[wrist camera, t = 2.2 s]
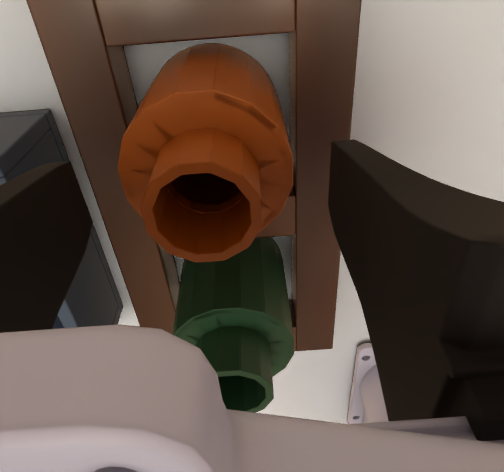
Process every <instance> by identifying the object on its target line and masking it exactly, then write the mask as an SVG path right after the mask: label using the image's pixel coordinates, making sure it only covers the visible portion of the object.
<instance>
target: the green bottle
mask: <svg viewBox="0 0 504 472" xmlns="http://www.w3.org/2000/svg"><path fill="white" fill-rule="evenodd" d="M172 335H174V336H176V337H178V338H180V339H182V340H185V341H187V342H189V343H191V344H193V345H195V346H196V347H198V348H199V349H201V351H202V352H203V354H204V355H205V357H206V358H207V360H208V361H209V363H210V364H211V366H212V367H213V368H214V370H215V371H216V373H217V375H218V380H219V385H220V390H221V395H222V400H223V402H224V405H225V407H226V409H229V410H237V411H245V412H253V413H255V412H258V411H261V410H263V409H264V408H265V407H266V406H267V405H268V404H269V403H270V402H271V401H272V400H273V398H274V396H273V381H272V377H273V376H274V375H275V374H277V373H278V372H280V371H281V370H283V369H284V368H285V367H286V366H287V364H288V363H289V361H290V359H291V358H292V356H293V355H294V335H293V328H292V321H291V314H290V307H289V300H288V293H287V286H286V279H285V273H284V266H283V259H282V256H281V252H280V250H279V247H278V246H277V244H276V243H275V241H274V240H273V239H272V238H271V237H259V238H254V240H253V242H252V243H251V245H250V246H249V247H248V248H247V249H245V250H243V251H241V252H239V253H238V254H236V255H234V256H232V257H230V258H228V259H227V260H224V261H211V262H192V261H189V260H187V259H185V260H184V263H183V268H182V275H181V281H180V287H179V294H178V300H177V306H176V313H175V319H174V325H173V332H172Z"/></svg>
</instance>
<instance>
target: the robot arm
mask: <svg viewBox="0 0 504 472" xmlns="http://www.w3.org/2000/svg"><path fill="white" fill-rule="evenodd" d="M328 208H329V212H330V217H331V222H332V226H333V230H334V234H335V236H336V239H337V242H338V244H339V247H340V249H341V252H342V255H343V257H344V260H345V262H346V265H347V267H348V270H349V272H350V275H351V278H352V280H353V283H354V285H355V288H356V290H357V293H358V296H359V299H360V302H361V305H362V309H363V313H364V317H365V321H366V324H367V328H368V332H369V336H370V340H371V343H364V344H361V345H360V346H359V347H358V349H357V354H356V361H355V369H354V376H353V383H352V390H351V397H350V404H349V411H348V418H347V423H348V424H341V423H333V422H325V421H317V420H309V419H301V418H293V417H285V416H277V415H269V414H261V413H253V412H245V411H237V410H229V409H226V407H225V405H224V402H223V400H222V395H221V390H220V385H219V380H218V375H217V373H216V371H215V370H214V368H213V367H212V366H211V364H210V363H209V361H208V360H207V358H206V357H205V355H204V354H203V352H202V351H201V349H199V348H198V347H196V346H195V345H193V344H191V343H189V342H187V341H185V340H182V339H180V338H178V337H176V336H174V335H172V334H170V333H168V332H166V331H164V330H162V329H158V328H148V327H138V326H128V325H118V324H117V325H103V326H89V327H75V328H61V329H52V328H53V325H54V323H55V320H56V318H57V315H58V312H59V310H60V308H61V306H62V304H63V301H64V299H65V297H66V295H67V292H68V290H69V288H70V286H71V284H72V281H73V279H74V277H75V275H76V272H77V270H78V268H79V265H80V263H81V261H82V259H83V256H84V254H85V251H86V248H87V244H88V241H89V237H90V233H91V228H92V224H93V221H92V219H91V216H90V213H89V211H88V208H87V205H86V202H85V200H84V197H83V194H82V192H81V189H80V186H79V184H78V181H77V178H76V175H75V173H74V170H73V167H72V165H71V162H70V161H68V162H55V163H47V164H44V165H41V166H38V167H36V168H34V169H32V170H29V171H27V172H25V173H23V174H21V175H19V176H17V177H16V178H14V179H12V180H10V181H8V182H6V183H4V184H2V185H0V472H504V202H501V201H497V200H493V199H489V198H486V197H482V196H478V195H475V194H472V193H468V192H465V191H462V190H459V189H457V188H454V187H451V186H448V185H446V184H443V183H440V182H438V181H435V180H433V179H430V178H428V177H426V176H424V175H422V174H419V173H417V172H415V171H413V170H411V169H409V168H407V167H405V166H403V165H401V164H399V163H397V162H395V161H394V160H392V159H390V158H388V157H386V156H384V155H383V154H381V153H379V152H377V151H376V150H374V149H372V148H370V147H368V146H367V145H365V144H363V143H361V142H359V141H356V140H343V141H331V157H330V175H329V194H328Z"/></svg>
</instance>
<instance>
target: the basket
mask: <svg viewBox="0 0 504 472" xmlns="http://www.w3.org/2000/svg"><path fill="white" fill-rule="evenodd" d="M68 161H69V160H68V157H67V154H66V151H65V149H64V146H63V143H62V141H61V138H60V135H59V133H58V130H57V127H56V125H55V122H54V119H53V116H52V114H51V111H50V110H49V109H45V110H32V111H19V112H7V113H0V185H2V184H4V183H6V182H8V181H10V180H12V179H14V178H16V177H17V176H19V175H21V174H23V173H25V172H27V171H29V170H32V169H34V168H36V167H38V166H41V165H44V164H47V163H55V162H68ZM122 308H123V305H122V302H121V300H120V297H119V294H118V292H117V289H116V286H115V283H114V281H113V278H112V275H111V273H110V270H109V267H108V265H107V262H106V259H105V257H104V254H103V251H102V248H101V246H100V243H99V240H98V238H97V235H96V232H95V230H94V227H93V224H92V228H91V233H90V237H89V241H88V244H87V248H86V251H85V254H84V256H83V259H82V261H81V263H80V265H79V268H78V270H77V272H76V275H75V277H74V279H73V281H72V284H71V286H70V288H69V290H68V292H67V295H66V297H65V299H64V301H63V304H62V306H61V308H60V310H59V312H58V315H57V318H56V320H55V323H54V325H53V328H52V329H61V328H75V327H89V326H103V325H117V324H118V321H119V318H120V315H121V312H122Z"/></svg>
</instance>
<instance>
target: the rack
mask: <svg viewBox="0 0 504 472" xmlns="http://www.w3.org/2000/svg"><path fill="white" fill-rule="evenodd" d="M26 1H27V4H28V6H29V9H30V12H31V15H32V18H33V21H34V24H35V26H36V29H37V32H38V35H39V38H40V41H41V44H42V46H43V49H44V52H45V55H46V58H47V61H48V64H49V67H50V69H51V72H52V75H53V78H54V81H55V84H56V87H57V89H58V92H59V95H60V98H61V101H62V104H63V107H64V109H65V112H66V115H67V118H68V121H69V124H70V127H71V129H72V132H73V135H74V138H75V141H76V144H77V147H78V150H79V152H80V155H81V158H82V161H83V164H84V167H85V170H86V172H87V175H88V178H89V181H90V184H91V187H92V190H93V192H94V195H95V198H96V201H97V204H98V207H99V210H100V213H101V215H102V218H103V221H104V224H105V227H106V230H107V233H108V235H109V238H110V241H111V244H112V247H113V250H114V253H115V255H116V258H117V261H118V264H119V267H120V270H121V273H122V275H123V278H124V281H125V284H126V287H127V290H128V293H129V296H130V298H131V301H132V304H133V307H134V310H135V313H136V316H137V318H138V321H139V324H140V327H148V328H158V329H162V330H164V331H166V332H168V333H170V334H172V332H173V325H174V319H175V313H176V306H177V300H178V294H179V287H180V284H179V280H178V276H177V272H176V268H175V263H174V259H173V255H172V254H169V253H167V252H166V251H165V250H164V249H163V248H162V247H161V246H160V245H159V244H158V243H157V242H156V241H154V240H153V239H152V238H151V237H150V236H149V235H148V233H147V231H146V228H145V224H144V220H143V219H142V218H141V216H140V215H139V214H138V213H137V211H136V210H135V209H134V208H133V206H132V205H131V204H130V203H129V201H128V200H127V198H126V196H125V193H124V189H123V186H122V183H121V179H120V176H119V173H118V161H119V155H120V148H121V142H122V138H123V135H124V133H125V131H126V130H127V128H128V126H129V124H130V122H131V121H132V119H133V117H134V115H135V113H136V111H137V110H138V109H137V105H136V101H135V96H134V92H133V88H132V84H131V80H130V75H129V71H128V67H127V63H126V59H125V55H124V50H123V46H126V45H139V44H151V43H164V42H176V41H189V40H201V39H214V38H226V37H239V36H252V35H264V34H277V33H289V46H290V146H291V151H292V155H293V187H292V189H291V191H290V194H289V196H288V198H287V200H286V203H285V205H284V207H283V209H282V211H281V212H280V214H279V215H278V216H277V217H276V218H275V219H274V220H273V221H271V222H270V223H269V224H268V225H267V226H266V227H265V228H264V229H263V230H262V231H261V232H259V233H257V235H256V237H255V238H259V237H273V236H287V235H291V246H292V300H289V307H290V314H291V321H292V328H293V335H294V351H305V350H320V349H332V347H333V335H334V323H335V311H336V299H337V287H338V275H339V263H340V251H341V249H340V247H339V244H338V242H337V239H336V236H335V234H334V230H333V226H332V222H331V217H330V212H329V208H328V194H329V175H330V157H331V141H343V140H350V131H351V119H352V107H353V95H354V83H355V71H356V59H357V47H358V35H359V23H360V11H361V0H26Z"/></svg>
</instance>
